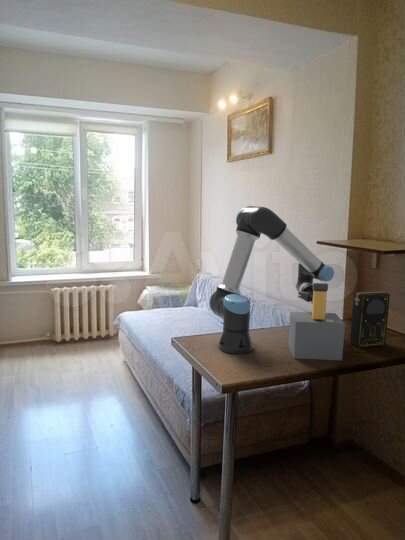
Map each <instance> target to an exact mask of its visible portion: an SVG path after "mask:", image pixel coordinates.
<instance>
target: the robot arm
mask: <svg viewBox="0 0 405 540" xmlns="http://www.w3.org/2000/svg"><path fill="white" fill-rule="evenodd" d="M235 223H236V225H237V226H236V230H235V233H236V235H237V236H236V239H235V243H234V245H233V249H232V251H231V255H230V258H229V261H228V264H227V267H226V271H225V274H224V276H223V278H222V279H223V280H222V282H221V283H220V284H218V285H217V287H216V290H215V291H214V292H212V293H211V294H210V297H209V301H208V305H209V308H210V310H211V311H212V312H213V314H214V315H216V316H217V317H219V318H220V319H222V333H221V335H220V338H219V341H218V349H219V351H222V352H225V353H228V354H233V355H234V354H237V355H238V354H241V355H242V354H246V353H250V352H251V351H253V348H254V347H253V345H254V344H253V341H252V338H251V337H252V336H251V334H250V324H251V323H250V319H251V308H252V307H251V300H250V299H249V297H247V296H246V295H242V292H241V290H240V287H241V284H242V281H243V279H244V276H245V273H246V271H247V270H246V269H247V267H248V263H249V260H250V257H251V255H252V254H251V253H252V252H253V248H254V245H255V242H256V241H258V240H259V239H260V238H261V235H262V234H263V235H264V236H266V237H267V238H268V239H269V240H271V241H275V242H276V243H277V244H279V246H281V247H282V248H283V250H285V251H286V252H287V253H288V254H289V255H290V256H291V257H293V258H294V259H295V260H296V261H297V263H298V265H297V266H298V270H297V271H298V272H297V281H296V283H295V288H296V291H297V292H298V295H297V298H299V299H301V300H304V301H305V302H307V303H312V302H313V283H314V279H315V280H318V281H320V282H325V283H327V282H330V281H332V280H333V278H334V277H335V276H334V275H335V270H334V268H333V267H332V266H330V265H328V264H327V265H326V264H325V263H324V262H323V261H322V260H321V259H320V258H318V257H317V255H316V254H314V253H313V252H312V251H311V249H309V247H308V246H306V245H305V244H304V243H303V242H302V241H301V240H300V239H299V238H298V237H297V236H296V235H295V234H293V232H292V231H291V230H290V229H289V228H287V223H286V222H285V221H284V220H283V219H282V218H281V217H280V216H278V214H276V213H275V212H274V211H273V210H271V209H270V208H268V207H266V206H256V205H255V206H254V205H248V206H245V207H243V208H241V209H240V210H239V211H238V213H237V214H236V216H235Z"/></svg>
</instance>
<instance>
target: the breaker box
mask: <svg viewBox="0 0 405 540" xmlns="http://www.w3.org/2000/svg"><path fill="white" fill-rule="evenodd" d="M289 314H290V315H289V328H288V330H289V332H288V347H289V350H290V353H291V355H292V358H293V359H301V360H304V359H306V360H327V361H328V360H329V361H343V353H344V338H345V329H346V328H345V327H346V323H345V322H344V320H342V319H341V318H340V317H339V316H338V315H337V313H335V312H325V320H323V319H312V311H309V312H307V311H303V312H302V311H290V313H289Z"/></svg>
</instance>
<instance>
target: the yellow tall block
mask: <svg viewBox="0 0 405 540" xmlns="http://www.w3.org/2000/svg"><path fill="white" fill-rule="evenodd" d="M328 290H329V284H328V283H327V282H325V283H324V282H323V283H321V282H319V283H318V282H313V302H311V312H312V319H323V320H325V313H327V312H326V308H327V296H328Z"/></svg>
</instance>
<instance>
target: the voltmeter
mask: <svg viewBox="0 0 405 540" xmlns="http://www.w3.org/2000/svg"><path fill="white" fill-rule="evenodd" d="M390 297H391V294H390V293H389V292H386V291H381V290H380V291H377V290H376V291H359V292H354V293H353V298H352V299H353V300H352V313H351V323H350V335H349V342H350V344H352V345H354V346H355V347H356V348H358V349H359V348H360V349H361V348H372V347H383V346H385V345H386V340H387V329H388V319H389V318H388V317H389V308H390Z"/></svg>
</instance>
